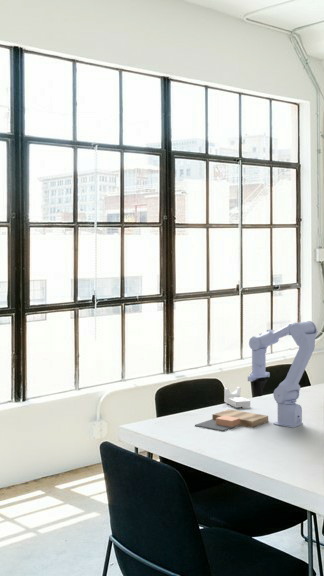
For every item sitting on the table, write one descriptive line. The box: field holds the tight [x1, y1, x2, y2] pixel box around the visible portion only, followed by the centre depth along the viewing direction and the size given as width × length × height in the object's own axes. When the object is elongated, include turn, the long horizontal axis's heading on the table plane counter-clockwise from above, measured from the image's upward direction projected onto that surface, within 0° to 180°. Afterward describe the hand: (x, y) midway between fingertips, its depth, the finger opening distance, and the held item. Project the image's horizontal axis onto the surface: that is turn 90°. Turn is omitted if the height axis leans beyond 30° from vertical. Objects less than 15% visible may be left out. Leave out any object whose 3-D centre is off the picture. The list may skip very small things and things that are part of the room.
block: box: [216, 415, 241, 428], centre depth 277 cm, size 8×6×2 cm
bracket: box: [223, 386, 251, 409], centre depth 314 cm, size 13×7×8 cm, turn 19°
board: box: [211, 408, 269, 428], centre depth 284 cm, size 20×12×2 cm, turn 50°
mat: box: [194, 419, 241, 432], centre depth 277 cm, size 14×12×1 cm
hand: (258, 395), depth 289 cm, fingers closed
